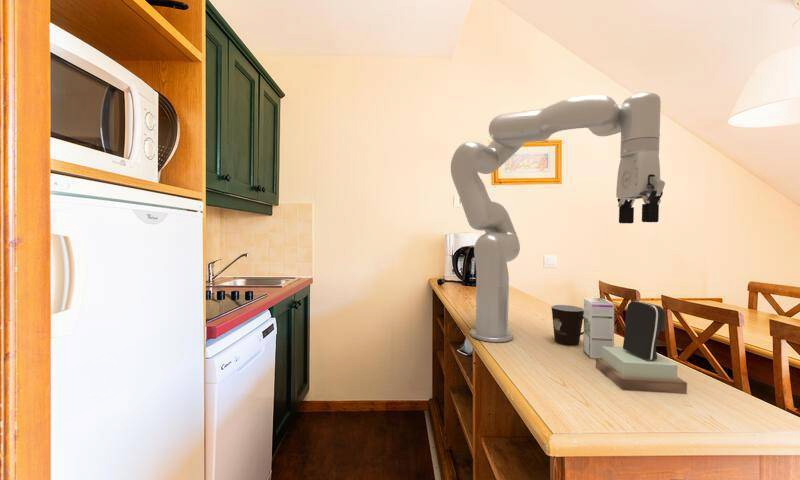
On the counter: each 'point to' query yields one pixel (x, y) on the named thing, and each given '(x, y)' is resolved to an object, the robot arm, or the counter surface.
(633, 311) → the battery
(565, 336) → the coffee mug
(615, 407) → the counter surface
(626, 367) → the tower top
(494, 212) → the robot arm
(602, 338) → the syrup box
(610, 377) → the tower base
